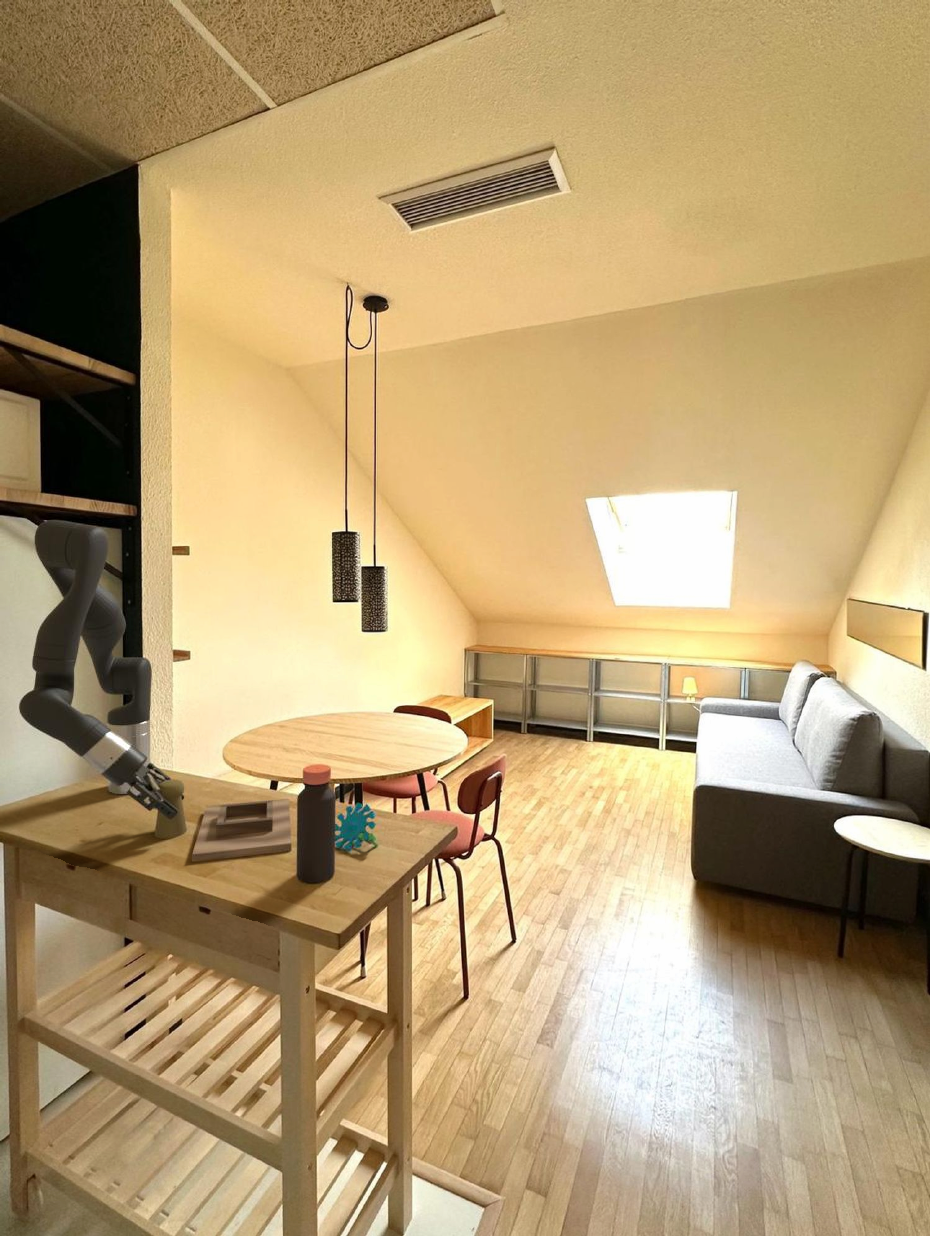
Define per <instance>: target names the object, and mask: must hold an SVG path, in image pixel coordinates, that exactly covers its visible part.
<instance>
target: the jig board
mask: <svg viewBox="0 0 930 1236" xmlns="http://www.w3.org/2000/svg"><path fill="white" fill-rule="evenodd" d="M290 812H291V811H290V799H289V798H282V799H281V798H280V799H271V800H260V801H248V802H238V803H225V804H217V805H207V806H206V808H205V810H204V813H203V817H202V820H201V824H200V827H199V829H198V830H199V831H198V834H197V837H196V840H195V844H194V848H193V851H192V855H191V857H192V858H191V862H192V863H196V862H197V863H198V862H206V861H215V860H221V859H230V858H238V857H248V856H256V855H264V854H265V855H267V854H271V853H273V854H274V853H282V852H290V851H292V832H291V817H290V814H291V813H290Z"/></svg>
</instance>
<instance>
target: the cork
mask: <svg viewBox="0 0 930 1236" xmlns="http://www.w3.org/2000/svg"><path fill="white" fill-rule="evenodd" d="M158 787H159V788H160V794H161V795H162V796H163V798H164V799H166V800H167V801H168V802H169V803H171V804H172V805H173V806H174V807H176V808H177V809H178V810H179V811H178V813H177V814H176V815H175V816H174V817H173V818H172V819H169V818H167V817H166V816H165V815H164V814H162V813H161V812H160V811H158V810H157V814H156V820H155V821H156V822H155V829H154V837H156V838H157V839H163V840H165V839H166V840H167V839H174V838H176V837H180V836H182V835H184V834H185V833H186V832H187V824H186V817H185V811H184V805H183V800H182V797H181V795H182V794H183V795H184V792H185V785H184V782H183V781H181V780H179V779H171V780H166V781H163V782H161V783H160V784H159V785H158Z"/></svg>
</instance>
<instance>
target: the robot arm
mask: <svg viewBox="0 0 930 1236" xmlns="http://www.w3.org/2000/svg"><path fill="white" fill-rule="evenodd" d="M108 538H109V537H108V536H107V533H106V531H105V530H104V529H102V528H100V527H98V526H96V525H90V524H85V523H80V522H72V521H67V520H61V519H50V520H46V521H43V522H41V523H40V524H39V525H38V526H37V528H36V530H35V533H34V546H35V547H34V548H35V550H36V551H35V552H36V554H37V557H38V559H39V561H40V562H41V564H42V566H43V568H44V569H45V570H46V572H47V573H48V575H49V576H50V577H51V580H52V581H53V583H54V584H55V586H56V587H57V588H58V590H59V592H60V594H61V597H62V600H61V601H60V602H59V603H58V604H57V605H56V607H54V608H53V609H52V610H51V612H50V613H49V614H48V615H47V616H46V617H45V619H43V621H42V622H41V624H40V626H39V629H38V630H37V633H36V639H35V645H34V647H33V648H34V650H33V653H32V654H33V655H32V659H31V660H32V661H31V665H32V669H33V671H35V677H34V678H35V679H34V687H33V689H32V690H30V691H28V692H27V693H26V694H25V695H23V697H22V698H21V699H20V701H19V705H18V709H19V714H20V716H21V717H22V719H23V720H24V721H26V723H27V724H29V726H32V728H34V729H36V730H38V731H40V732H42V733H43V734H45V735H47V736H49V737H51V738H52V739H55V740H57V741H59V742H62V743H63V744H64V745H65V746H67V747H68V748H69V749H70V750H72V751H73V752H74V753H75V754H76V755H78V756H79V757H80V758H82V759H83V760H84V761H85V762H86V764H88V765H89V766H90V768H92V769H93V770H95V771H96V772H97V773H98V774H100V775H101V776H102V777H104V778H105V779H106V780H107V782H108V783H107V788H108V790H109V791H108V792H109V793H110V792H112V793H111V794H113V793H114V794H115V795H128V797H131V798H132V799H133V800H134V801H136V802H137V803H138V804H140V805H141V806H142V807H143V808H145V809H146V810H148V811H149V812H151V811H152V810H157V812H158V811H160V812H161V813H162V814H164V815H165V816H166V817H167V818H169V819H172V818H173V817H174V816H175V815H176V814H177V813H178V811H179V810H178V809H177V808H176V807H174V806H173V805H172V804H171V803H169V802H168V801H167V800H166V799H164V798H163V796H162V795H161V794H160V788H159V787H158V785H159V784H160V783H161V782H163V781H166V780H172V778H171V777H170V776H168V775H167V774H166V773H165V772H163V771H162V770H160V768H159V767H157V766H156V765H155V764H153V763H152V762H151V699H152V698H151V694H152V677H153V674H152V673H153V672H152V671H153V670H152V664H151V662H150V660H149V659H148V658H146V657H117V656H115V655H114V654H113V651H114V649H115V647H116V646H117V645H118V644H119V642H120V641H121V640H122V638H123V635H124V634H125V631H126V627H127V622H126V619H125V616H124V614H123V610H122V607H121V605H120V603H119V601H118V600H117V599H116V597H115V596H114V595H113V594H112V593H111V592H110V591H109V590H108V589H106V588H105V586H103V585H102V584H101V583H100V580H101V578H102V574H103V572H104V569H105V566H106V562H107V559H108V553H109V539H108ZM81 638H82V640H83V642H84V645H85V646H86V649H87V651H88V653H89V656H90V658H91V661H92V665H93V668H94V671H95V674H96V678H97V681H98V683H99V684H98V685H99V686H100V688H101V690H102V691H103V692H104V693H106V694H108V695H114V696H115V695H117V696H118V695H121V696H123V695H132V699H131V700H130V702H129V703H126V704H124V705H121V706H118V707H115V708H112V709H110V710H109V711H108V713H107V716H106V717H107V719H106V720H107V725H106V724H105V723H103V722H102V721H101V720H100V719H98V718H97V717H96V716H93V715H92V714H89V713H85V714H84V713H82V712H81V711H79V710H78V709H76V708H75V707H73V706H72V704H73V700H74V693H75V667H76V664H77V658H78V654H79V648H80V647H79V646H80V643H81ZM114 794H113V795H114ZM181 797H182V801H183V800H185V795H184V793H183V794H182V795H181Z"/></svg>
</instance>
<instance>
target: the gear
mask: <svg viewBox="0 0 930 1236" xmlns="http://www.w3.org/2000/svg"><path fill="white" fill-rule="evenodd" d="M354 807H355V808H353V806H352V805H349V806H346V807H345V811H346V816H345V814H343V813H341V812H340V813H339V814H338V815H337V816H336V818H337V819H336V820H338V821H339V822H341V824H340V826H339V824H337V823H335V832H339V834H338V835H337V834H336V833H335V848H337V849H338V850H342V848H343V850H345V851H347V852H351V850H352V848H353V847H354V848H356V849H358V848H359V849H360V848H361V847H362V841H363V842H366V843H367V844H368V845H371V844H372V845H373V846H374V847H376V848H378V846H379V843H378V842H377V841H376V839H377V836H376V835H375V834H374V833H373V832H370V833H369V832H368V831H367V829H366V828H367V827H368V828H369V829H371V830H374V828H375V827H376V823H375V821H373V820H374V819H376V812H375V811H373V810H371V809H372V808H371V806H370V805H368V804H367V803H366V804H365V805H362V803H360V802H356V803H355V806H354ZM365 813H367V814H365ZM369 818H370V819H371V820H372V821H367V819H369ZM341 839H342V840H341ZM340 840H341V841H340ZM352 846H353V847H352Z"/></svg>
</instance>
